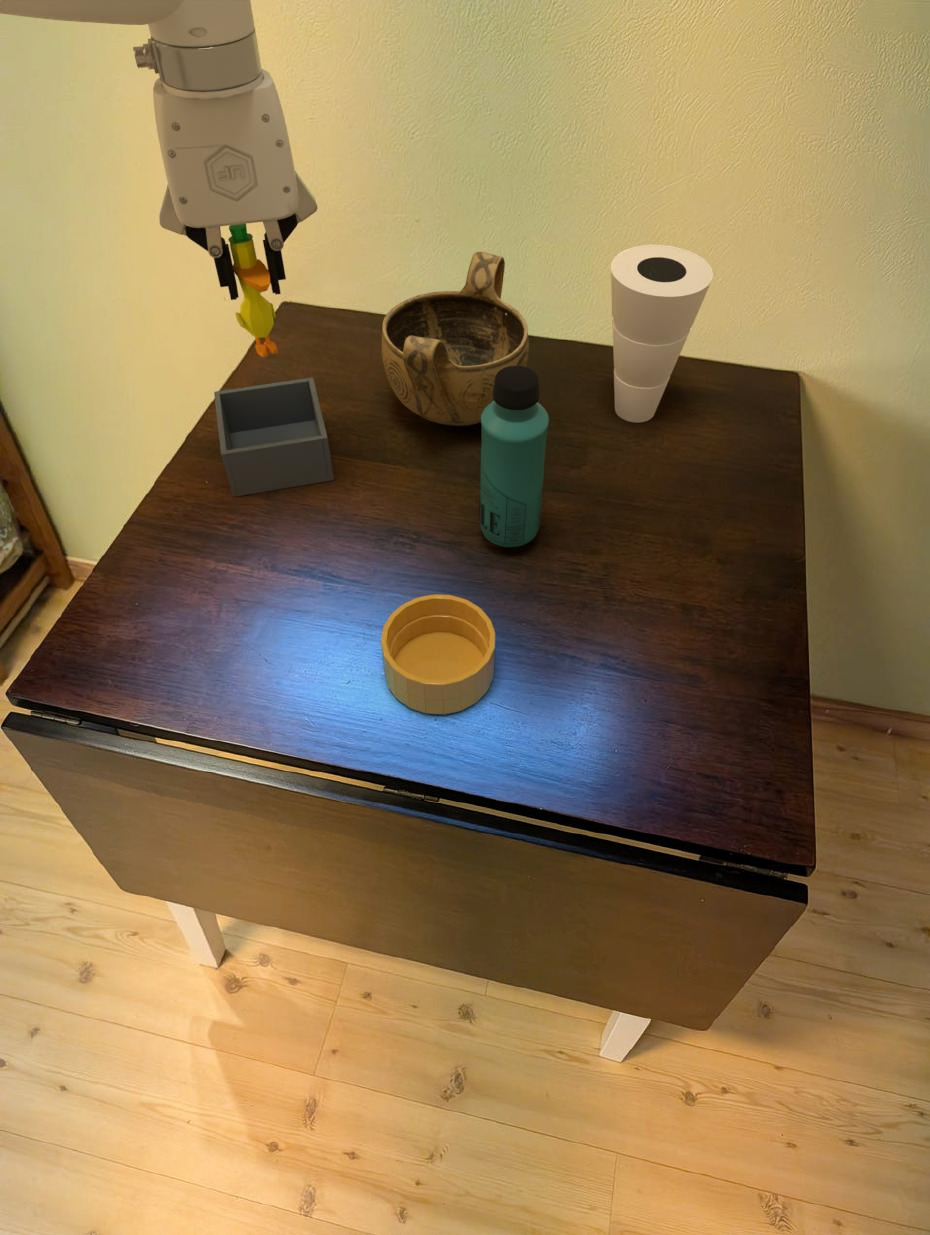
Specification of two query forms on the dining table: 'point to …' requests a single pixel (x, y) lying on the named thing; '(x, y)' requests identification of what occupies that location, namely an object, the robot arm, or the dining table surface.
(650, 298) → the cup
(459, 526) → the dining table surface
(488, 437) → the beverage bottle
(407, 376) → the ceramic bowl
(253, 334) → the toy figure
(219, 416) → the grey bin
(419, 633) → the mustard bowl
